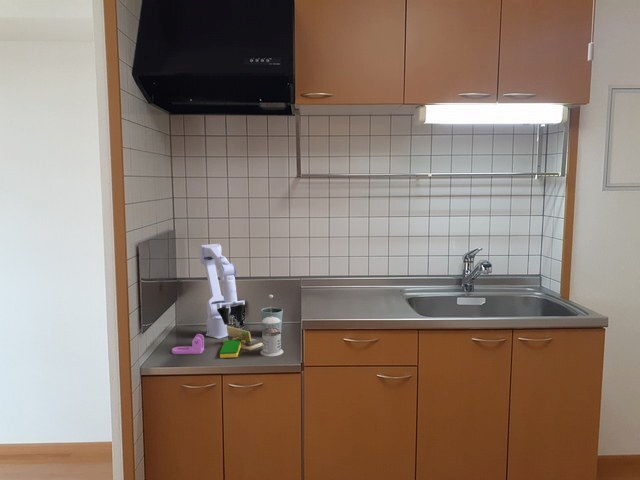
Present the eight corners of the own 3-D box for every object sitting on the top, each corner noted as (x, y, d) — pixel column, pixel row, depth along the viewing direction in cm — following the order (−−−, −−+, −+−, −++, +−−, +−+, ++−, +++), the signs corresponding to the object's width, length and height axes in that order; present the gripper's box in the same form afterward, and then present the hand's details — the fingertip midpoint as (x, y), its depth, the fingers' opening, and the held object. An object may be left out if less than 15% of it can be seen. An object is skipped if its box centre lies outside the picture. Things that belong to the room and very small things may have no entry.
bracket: (204, 349, 213) (203, 333, 212) (201, 353, 207) (200, 337, 206) (173, 349, 212) (173, 334, 211) (170, 354, 207) (169, 338, 206)
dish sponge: (220, 358, 201) (219, 352, 201) (225, 345, 215) (225, 340, 214) (237, 357, 201) (236, 351, 201) (241, 344, 215) (241, 339, 215)
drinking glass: (259, 332, 234) (258, 308, 233) (279, 330, 238) (278, 306, 237) (265, 339, 225) (264, 313, 223) (286, 336, 229) (285, 311, 227)
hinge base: (263, 345, 217) (263, 338, 217) (249, 350, 210) (249, 344, 210) (235, 337, 228) (235, 331, 227) (221, 342, 221) (221, 336, 220)
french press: (262, 357, 202) (260, 298, 199) (258, 347, 213) (256, 291, 210) (285, 354, 205) (284, 296, 202) (280, 345, 216) (279, 290, 213)
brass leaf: (251, 330, 213) (247, 332, 211) (253, 344, 214) (250, 346, 213) (228, 325, 221) (225, 327, 219) (231, 338, 223) (227, 340, 221)
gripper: (223, 292, 205) (226, 325, 203) (248, 289, 216) (251, 320, 215) (212, 294, 209) (215, 326, 208) (237, 291, 221) (240, 321, 219)
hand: (233, 323), depth 212 cm, fingers open, 7 cm apart
